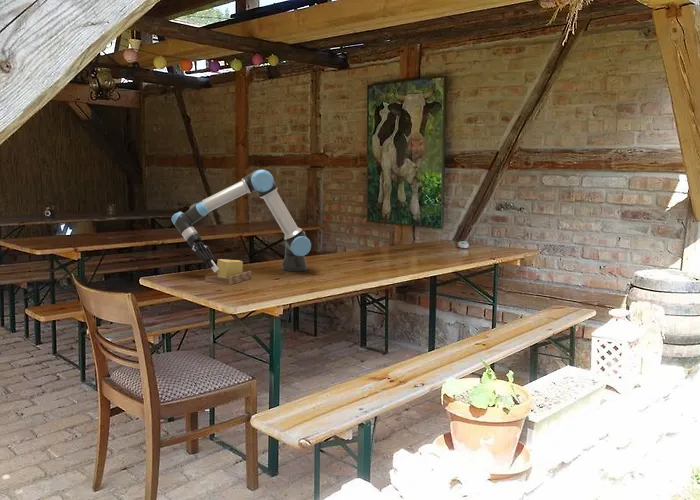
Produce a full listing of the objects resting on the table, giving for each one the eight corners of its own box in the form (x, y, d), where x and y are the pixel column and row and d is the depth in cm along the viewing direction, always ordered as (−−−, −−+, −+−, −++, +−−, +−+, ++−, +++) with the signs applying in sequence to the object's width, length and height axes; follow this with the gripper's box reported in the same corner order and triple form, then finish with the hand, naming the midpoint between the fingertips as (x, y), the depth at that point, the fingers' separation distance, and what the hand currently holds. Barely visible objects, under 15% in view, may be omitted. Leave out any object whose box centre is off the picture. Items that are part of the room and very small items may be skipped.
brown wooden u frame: (226, 275, 336) (226, 268, 336) (251, 278, 331) (251, 271, 330) (205, 281, 317) (205, 274, 317) (231, 284, 312) (231, 277, 311)
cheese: (233, 277, 333) (234, 258, 332) (243, 279, 325) (243, 261, 324) (216, 277, 327) (216, 259, 326) (225, 280, 318) (225, 261, 317)
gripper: (194, 240, 335) (219, 274, 331) (180, 242, 324) (205, 276, 319) (203, 232, 333) (228, 265, 329) (189, 233, 321) (214, 267, 317)
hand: (217, 271), depth 324 cm, fingers closed
